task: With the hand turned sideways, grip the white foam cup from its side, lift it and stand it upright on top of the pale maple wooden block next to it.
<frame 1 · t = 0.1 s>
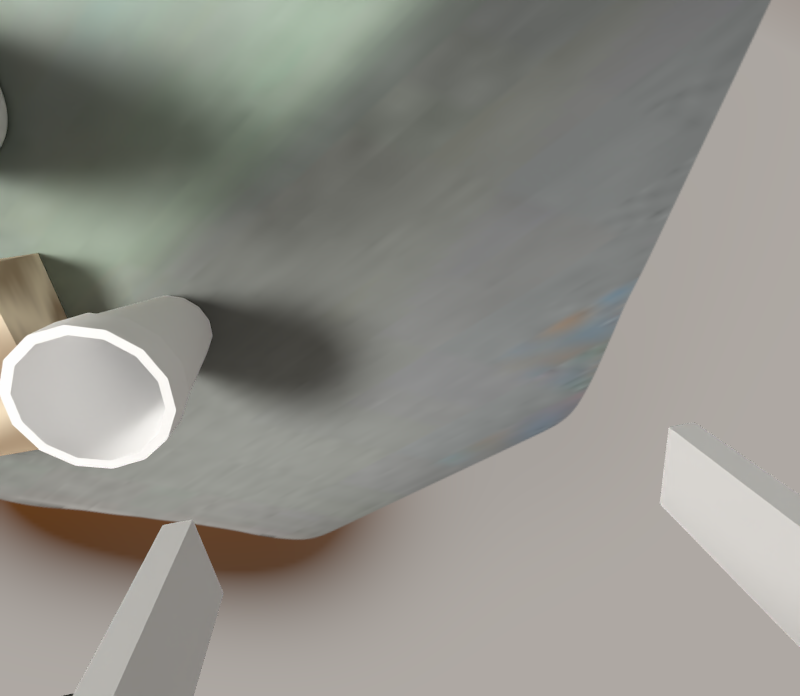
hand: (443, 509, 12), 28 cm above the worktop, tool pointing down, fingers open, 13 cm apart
foam cup: (175, 330, 37), on the worktop
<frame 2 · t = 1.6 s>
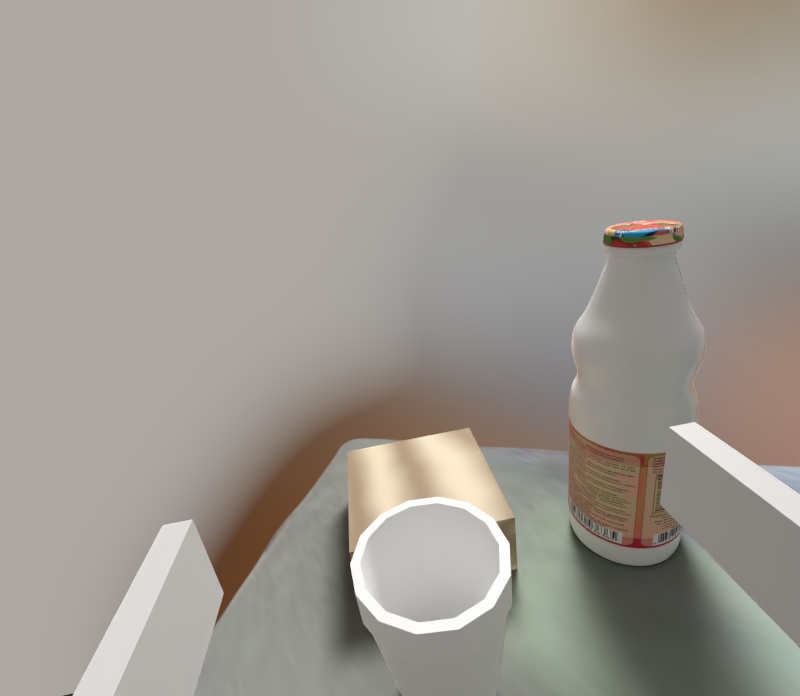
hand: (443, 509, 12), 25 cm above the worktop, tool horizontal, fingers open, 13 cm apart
maple block: (426, 526, 44), on the worktop
fruit juice: (621, 528, 41), on the worktop
foam cup: (451, 690, 30), on the worktop
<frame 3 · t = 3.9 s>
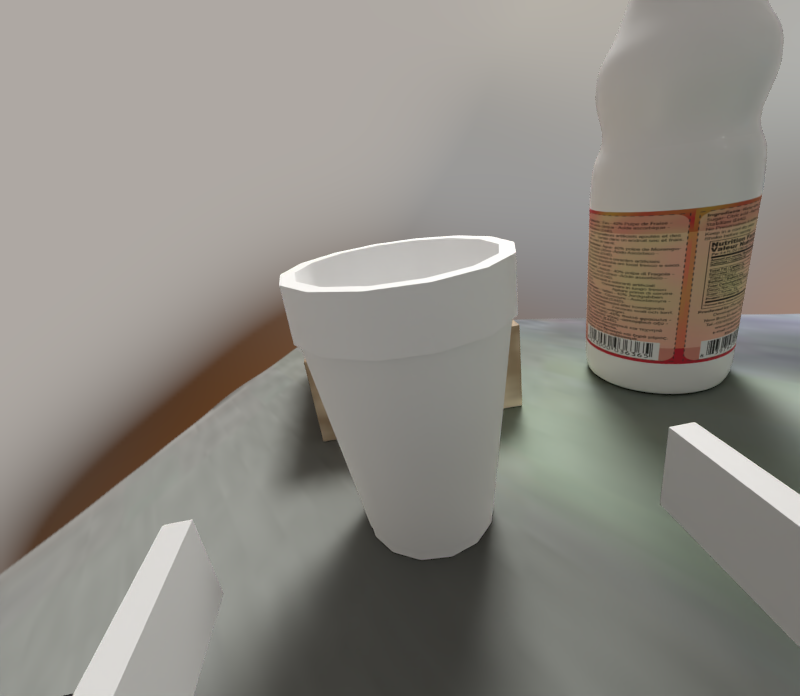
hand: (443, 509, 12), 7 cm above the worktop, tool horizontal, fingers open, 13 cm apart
maple block: (410, 379, 36), on the worktop
fruit juice: (652, 369, 32), on the worktop
foam cup: (431, 511, 22), on the worktop
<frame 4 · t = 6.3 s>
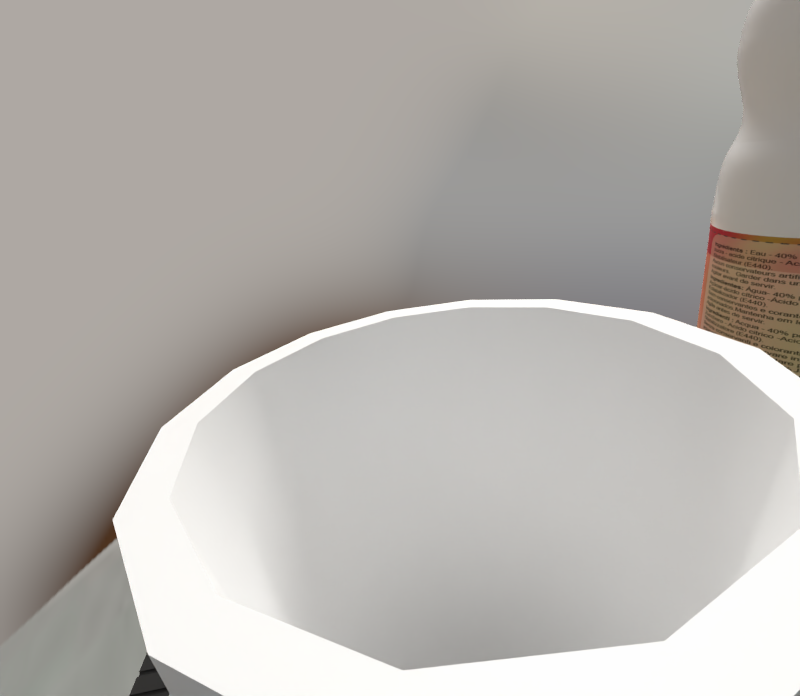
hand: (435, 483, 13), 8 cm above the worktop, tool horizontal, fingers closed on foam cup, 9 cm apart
fruit juice: (789, 460, 22), on the worktop
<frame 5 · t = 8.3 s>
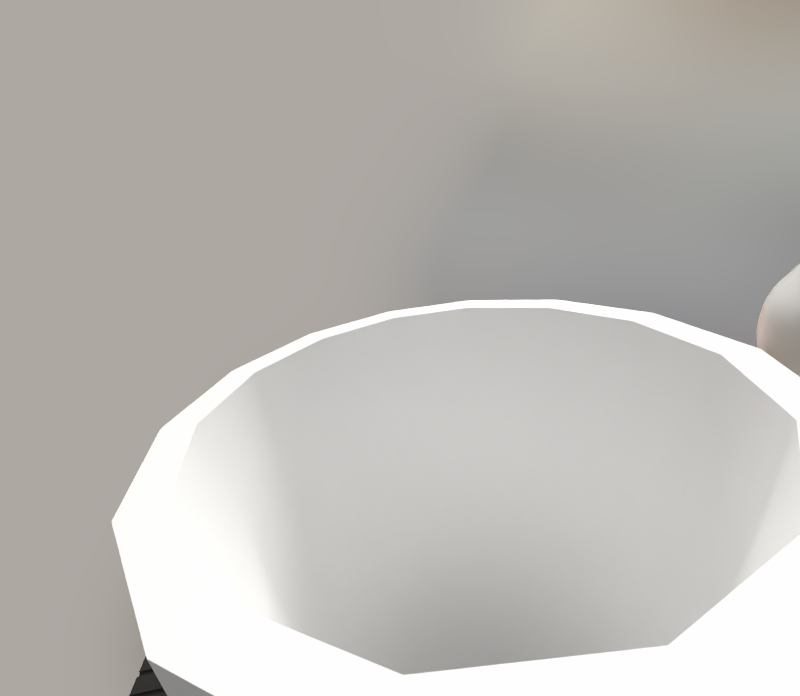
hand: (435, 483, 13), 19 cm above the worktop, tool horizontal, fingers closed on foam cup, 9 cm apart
when the fingers open (15 cm above the worktop, at t = 10.4 s): foam cup drops 1 cm, resting on maple block.
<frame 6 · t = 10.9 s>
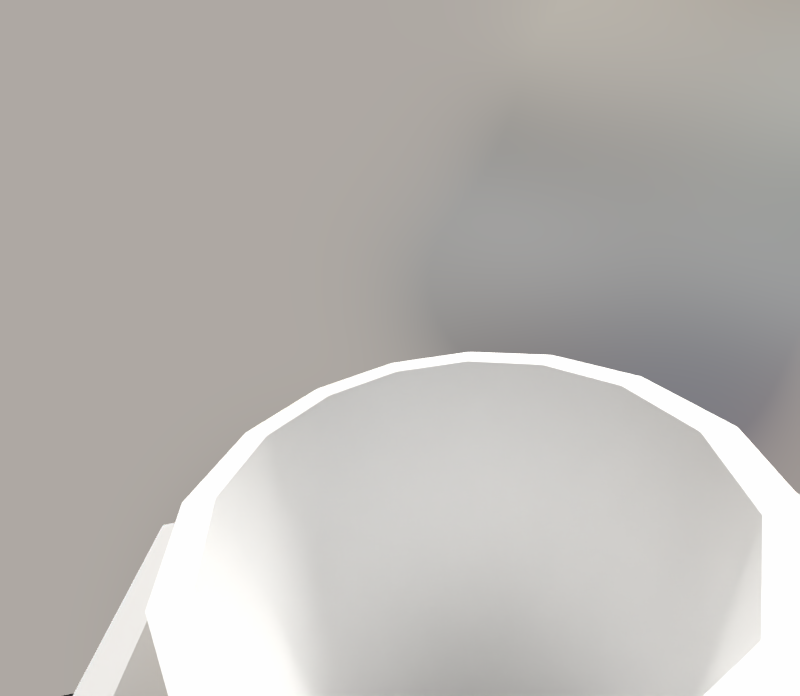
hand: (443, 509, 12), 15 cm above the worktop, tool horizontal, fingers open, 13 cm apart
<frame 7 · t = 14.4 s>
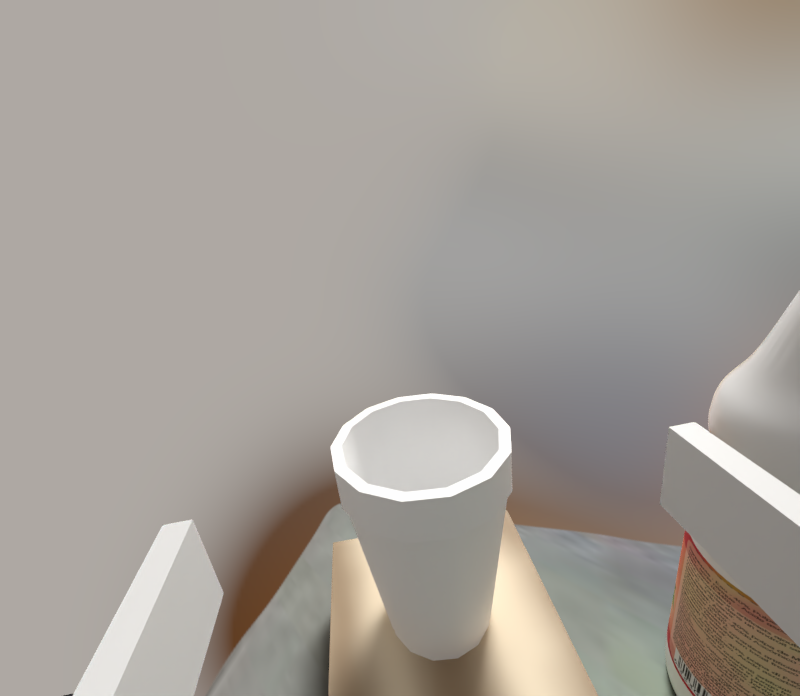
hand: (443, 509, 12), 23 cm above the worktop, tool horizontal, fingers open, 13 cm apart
maple block: (446, 668, 30), on the worktop
foam cup: (440, 610, 27), point 6 cm above the worktop, touching maple block
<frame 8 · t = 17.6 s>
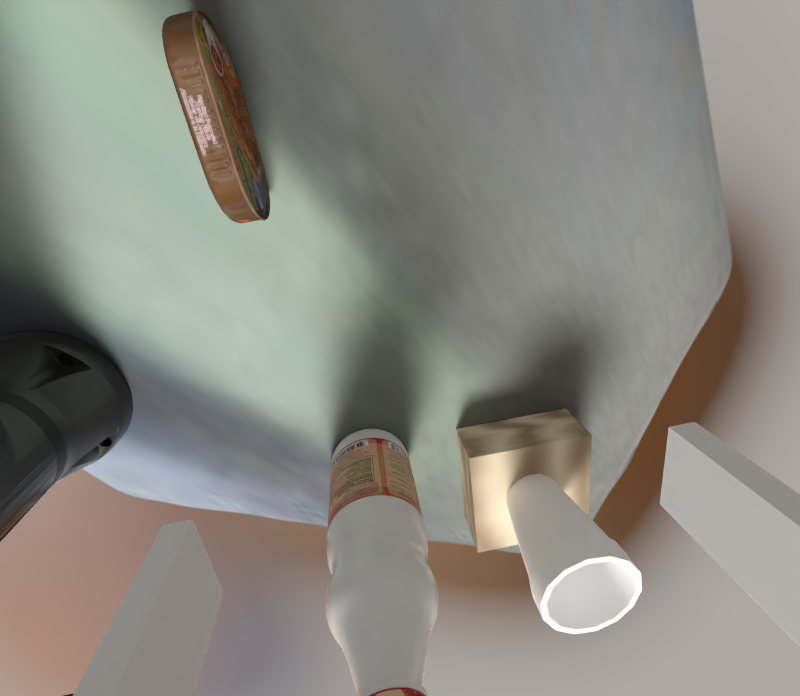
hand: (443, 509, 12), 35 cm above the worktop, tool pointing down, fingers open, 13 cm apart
maple block: (513, 464, 55), on the worktop
tin: (235, 132, 38), on the worktop
fruit juice: (369, 458, 53), on the worktop
foam cup: (531, 495, 50), point 6 cm above the worktop, touching maple block
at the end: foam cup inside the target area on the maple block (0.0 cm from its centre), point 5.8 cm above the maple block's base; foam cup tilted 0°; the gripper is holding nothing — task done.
